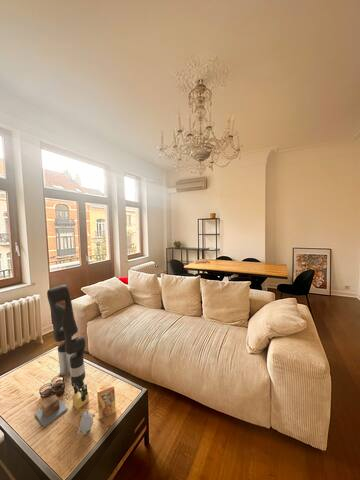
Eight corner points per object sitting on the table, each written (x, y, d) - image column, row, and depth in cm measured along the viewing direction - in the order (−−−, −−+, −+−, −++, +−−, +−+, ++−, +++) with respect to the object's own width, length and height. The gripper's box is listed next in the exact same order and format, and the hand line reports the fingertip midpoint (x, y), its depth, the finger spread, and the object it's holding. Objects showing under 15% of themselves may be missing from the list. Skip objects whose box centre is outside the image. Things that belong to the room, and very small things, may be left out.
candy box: (115, 406, 118) (113, 382, 116) (116, 412, 114) (114, 388, 112) (98, 413, 114) (96, 388, 112) (99, 420, 110) (97, 394, 108)
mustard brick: (84, 396, 125) (83, 387, 125) (88, 400, 122) (88, 391, 122) (73, 405, 120) (72, 395, 119) (77, 409, 117) (76, 400, 116)
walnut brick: (55, 403, 119) (54, 394, 119) (59, 408, 116) (58, 398, 116) (42, 413, 114) (41, 403, 113) (46, 418, 111) (45, 408, 110)
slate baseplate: (57, 399, 123) (57, 397, 123) (67, 409, 116) (67, 408, 116) (35, 415, 114) (35, 413, 114) (44, 427, 107) (43, 425, 107)
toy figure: (91, 419, 110) (89, 399, 109) (99, 424, 108) (98, 404, 106) (73, 439, 101) (71, 417, 99) (82, 444, 98) (80, 422, 97)
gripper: (90, 372, 117) (92, 398, 119) (78, 363, 126) (80, 387, 127) (77, 381, 111) (79, 408, 113) (65, 370, 120) (67, 395, 121)
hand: (80, 396), depth 120 cm, fingers open, 8 cm apart
